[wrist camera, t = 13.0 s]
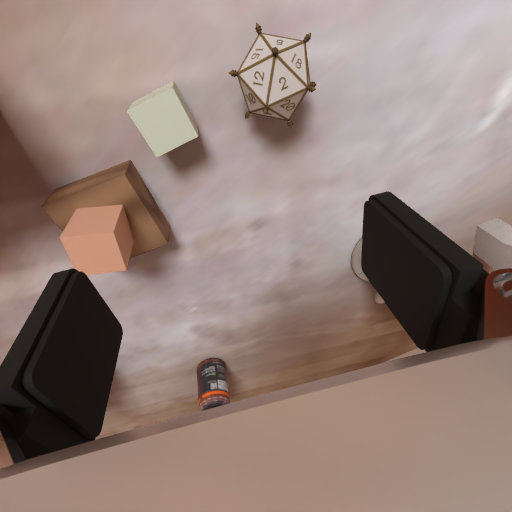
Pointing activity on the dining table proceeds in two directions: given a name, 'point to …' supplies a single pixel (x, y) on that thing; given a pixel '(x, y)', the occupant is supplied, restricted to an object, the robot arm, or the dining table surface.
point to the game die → (275, 76)
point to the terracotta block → (98, 239)
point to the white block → (494, 243)
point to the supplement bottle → (212, 384)
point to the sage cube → (164, 119)
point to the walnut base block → (114, 193)
